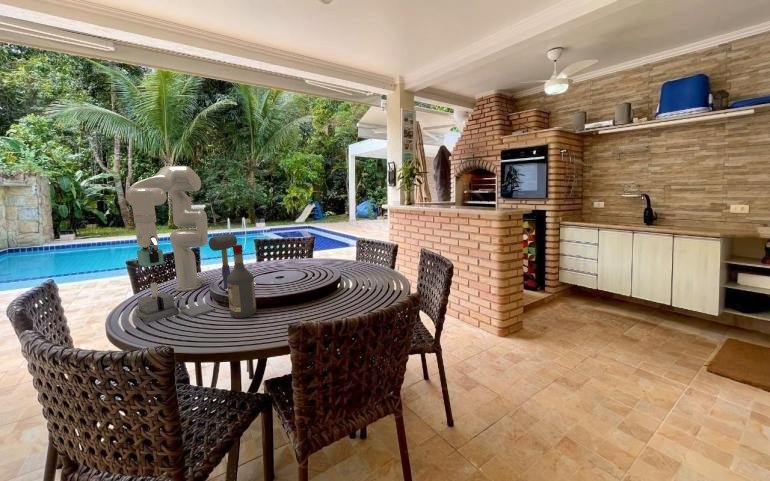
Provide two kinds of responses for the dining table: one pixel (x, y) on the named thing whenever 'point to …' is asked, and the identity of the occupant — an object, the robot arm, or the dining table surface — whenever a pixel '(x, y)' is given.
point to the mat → (198, 310)
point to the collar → (145, 259)
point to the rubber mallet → (223, 251)
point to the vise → (157, 305)
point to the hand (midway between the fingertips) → (151, 260)
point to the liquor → (240, 287)
